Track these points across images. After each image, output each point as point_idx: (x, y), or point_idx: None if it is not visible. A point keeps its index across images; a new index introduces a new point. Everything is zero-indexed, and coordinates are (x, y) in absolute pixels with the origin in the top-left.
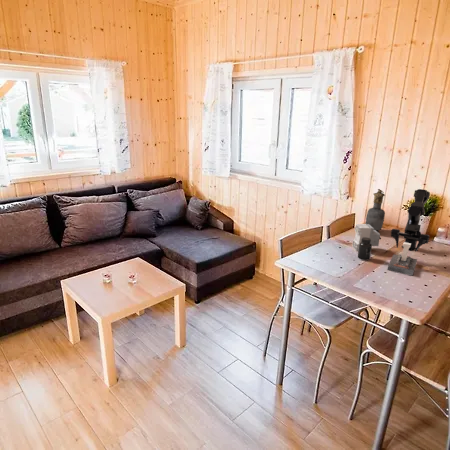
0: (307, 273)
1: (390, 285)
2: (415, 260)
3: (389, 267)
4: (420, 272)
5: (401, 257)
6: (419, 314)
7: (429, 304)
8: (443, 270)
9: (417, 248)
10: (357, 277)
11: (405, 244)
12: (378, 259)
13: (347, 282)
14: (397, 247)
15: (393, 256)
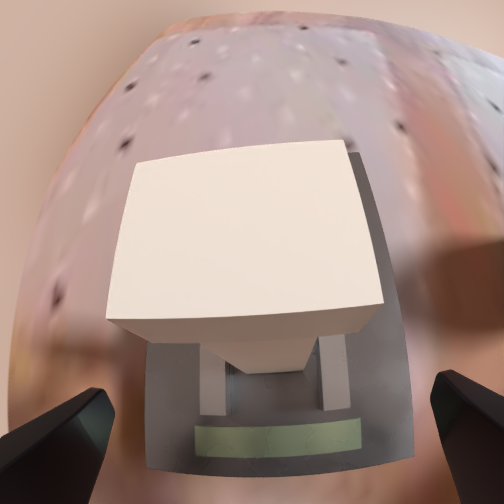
0: (490, 54)
1: (272, 65)
2: (156, 427)
3: None
4: None
5: (315, 424)
6: (175, 28)
7: (142, 60)
8: (14, 420)
9: (53, 410)
10: (402, 64)
11: (271, 156)
12: (481, 337)
13: (396, 39)
14: (434, 387)
15: (401, 387)
